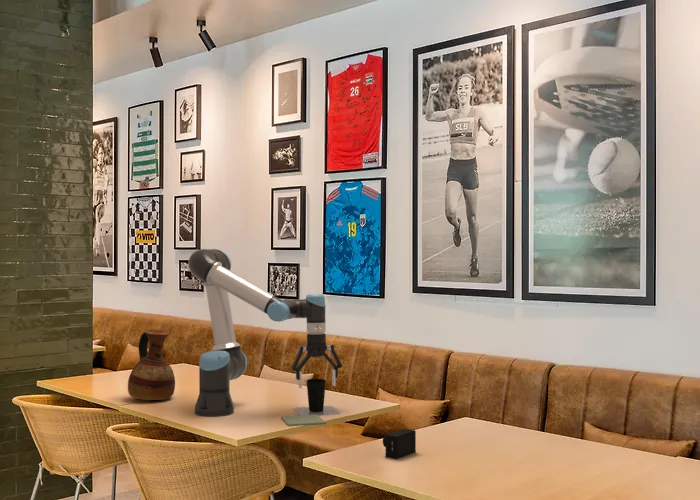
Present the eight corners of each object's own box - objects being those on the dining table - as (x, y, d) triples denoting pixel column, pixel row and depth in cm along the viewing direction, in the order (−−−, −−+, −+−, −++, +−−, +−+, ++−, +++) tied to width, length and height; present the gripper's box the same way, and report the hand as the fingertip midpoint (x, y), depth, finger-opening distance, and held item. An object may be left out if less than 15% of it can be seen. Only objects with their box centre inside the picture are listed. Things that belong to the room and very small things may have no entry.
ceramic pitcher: (147, 405, 307) (147, 332, 307) (117, 400, 319) (117, 329, 319) (184, 398, 322) (185, 329, 322) (154, 393, 334) (155, 326, 335)
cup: (302, 411, 295) (302, 381, 295) (312, 408, 302) (312, 378, 302) (319, 413, 291) (319, 382, 292) (329, 409, 298) (329, 379, 298)
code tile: (300, 418, 287) (300, 416, 287) (292, 410, 302) (292, 407, 302) (341, 416, 291) (341, 413, 291) (330, 408, 307) (330, 405, 307)
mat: (288, 426, 270) (288, 424, 270) (280, 418, 283) (280, 416, 283) (325, 423, 274) (325, 422, 274) (316, 415, 287) (316, 414, 287)
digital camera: (401, 449, 238) (401, 427, 238) (415, 452, 234) (415, 430, 234) (382, 456, 229) (382, 433, 230) (396, 459, 226) (396, 436, 226)
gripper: (287, 335, 290) (288, 390, 289) (349, 332, 297) (350, 386, 296) (283, 333, 297) (284, 387, 297) (343, 331, 304) (344, 383, 304)
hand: (317, 386), depth 297 cm, fingers open, 13 cm apart
